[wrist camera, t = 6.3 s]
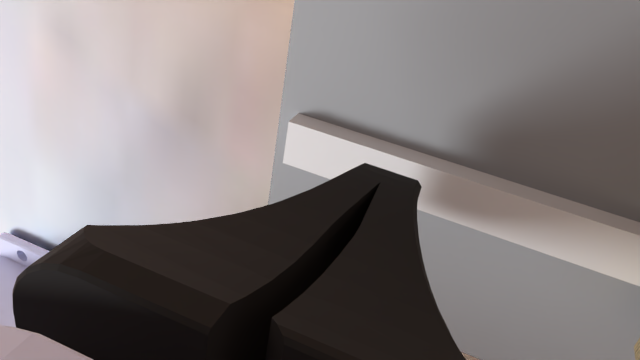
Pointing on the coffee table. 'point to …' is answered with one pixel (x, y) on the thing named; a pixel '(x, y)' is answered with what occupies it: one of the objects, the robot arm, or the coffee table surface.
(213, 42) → the coffee table surface
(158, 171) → the coffee table surface
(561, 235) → the pitch plate
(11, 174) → the coffee table surface
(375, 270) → the robot arm
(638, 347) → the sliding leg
